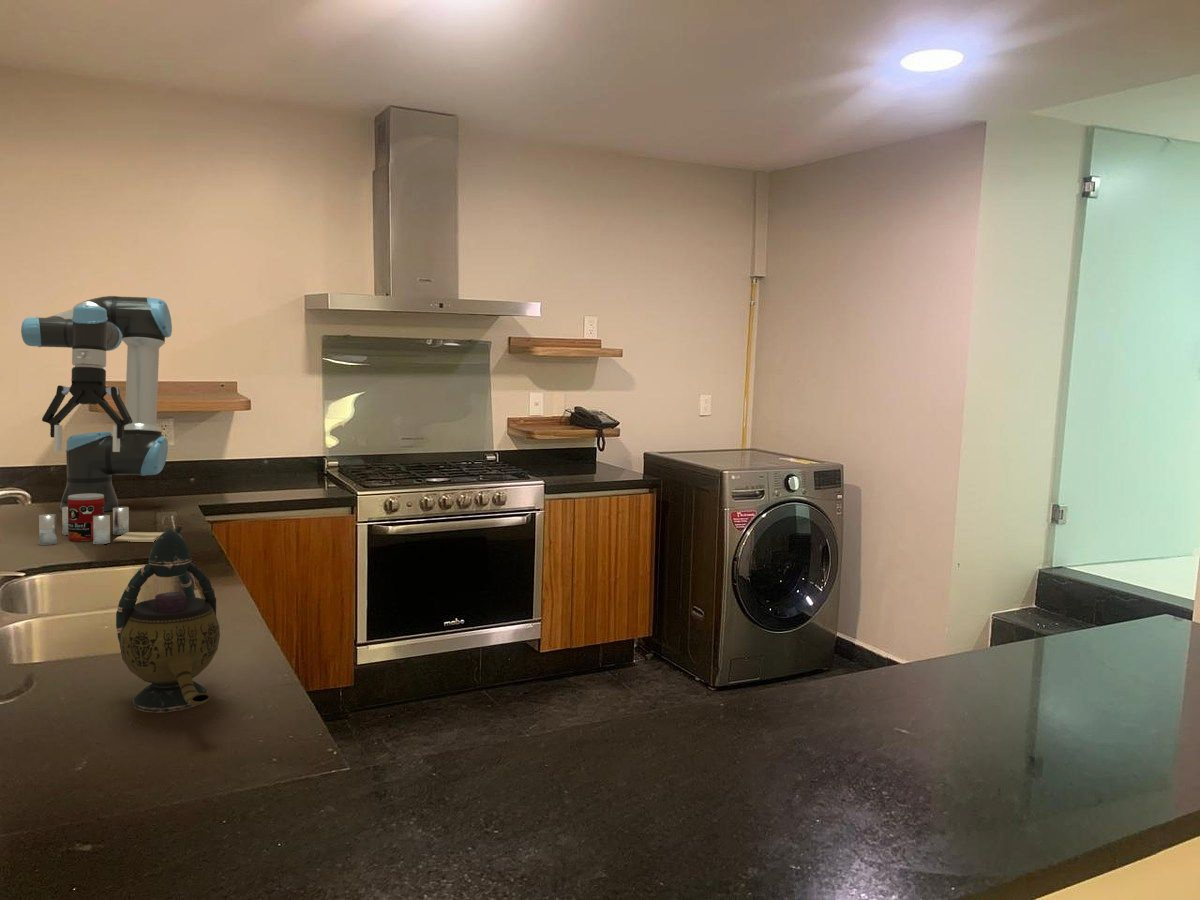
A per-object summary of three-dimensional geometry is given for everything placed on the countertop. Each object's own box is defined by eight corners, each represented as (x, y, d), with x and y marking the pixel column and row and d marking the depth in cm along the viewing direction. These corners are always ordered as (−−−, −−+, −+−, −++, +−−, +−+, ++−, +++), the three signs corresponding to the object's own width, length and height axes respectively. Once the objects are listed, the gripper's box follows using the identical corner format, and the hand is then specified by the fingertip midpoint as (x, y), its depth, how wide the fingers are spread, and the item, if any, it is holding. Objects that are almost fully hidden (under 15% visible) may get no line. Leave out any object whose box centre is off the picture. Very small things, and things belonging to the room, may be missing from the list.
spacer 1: (43, 542, 217) (43, 514, 216) (59, 542, 218) (59, 514, 217) (36, 545, 213) (36, 516, 213) (53, 545, 214) (52, 516, 213)
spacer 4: (116, 533, 232) (115, 506, 231) (130, 533, 232) (130, 506, 232) (110, 535, 228) (110, 508, 228) (126, 535, 229) (125, 508, 228)
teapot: (202, 672, 130) (201, 514, 128) (253, 730, 110) (254, 544, 108) (108, 688, 122) (106, 520, 120) (145, 752, 102) (144, 553, 101)
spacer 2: (66, 532, 230) (65, 506, 229) (81, 533, 230) (80, 506, 230) (60, 535, 226) (59, 508, 226) (75, 535, 227) (75, 508, 226)
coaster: (127, 535, 230) (127, 532, 230) (165, 535, 231) (165, 532, 231) (113, 542, 220) (113, 539, 220) (152, 542, 221) (152, 539, 221)
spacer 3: (96, 542, 219) (96, 514, 218) (112, 542, 220) (112, 514, 219) (90, 545, 215) (90, 516, 215) (106, 545, 216) (106, 516, 216)
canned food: (60, 540, 221) (60, 496, 220) (87, 534, 228) (87, 492, 227) (85, 542, 218) (84, 498, 218) (111, 537, 226) (111, 494, 225)
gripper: (28, 364, 219) (26, 450, 219) (136, 367, 223) (134, 451, 223) (42, 367, 226) (40, 450, 226) (146, 370, 230) (145, 452, 230)
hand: (87, 451), depth 224 cm, fingers open, 13 cm apart
